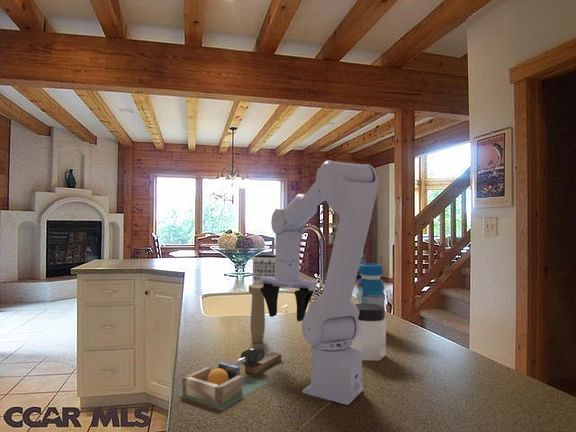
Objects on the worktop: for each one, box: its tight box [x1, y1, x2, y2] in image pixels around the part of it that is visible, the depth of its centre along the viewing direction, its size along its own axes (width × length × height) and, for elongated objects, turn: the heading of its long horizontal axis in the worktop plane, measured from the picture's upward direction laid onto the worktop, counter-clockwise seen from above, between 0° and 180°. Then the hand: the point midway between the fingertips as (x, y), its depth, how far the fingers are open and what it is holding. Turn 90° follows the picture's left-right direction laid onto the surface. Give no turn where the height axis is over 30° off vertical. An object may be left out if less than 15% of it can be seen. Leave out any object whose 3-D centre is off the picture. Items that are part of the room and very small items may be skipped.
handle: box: [248, 284, 266, 344], centre depth 107 cm, size 5×6×15 cm
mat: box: [176, 374, 268, 411], centre depth 76 cm, size 11×14×1 cm
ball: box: [207, 368, 229, 385], centre depth 76 cm, size 4×4×4 cm
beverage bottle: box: [356, 263, 386, 308], centre depth 120 cm, size 8×8×20 cm
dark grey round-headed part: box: [218, 345, 266, 380], centre depth 83 cm, size 11×5×5 cm, turn 149°
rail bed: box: [244, 351, 282, 375], centre depth 89 cm, size 3×10×2 cm, turn 149°
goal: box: [181, 366, 242, 405], centre depth 74 cm, size 9×6×3 cm
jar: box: [350, 303, 387, 362], centre depth 97 cm, size 9×8×12 cm
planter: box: [252, 254, 275, 285], centre depth 209 cm, size 16×16×14 cm
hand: (286, 318), depth 93 cm, fingers open, 7 cm apart
